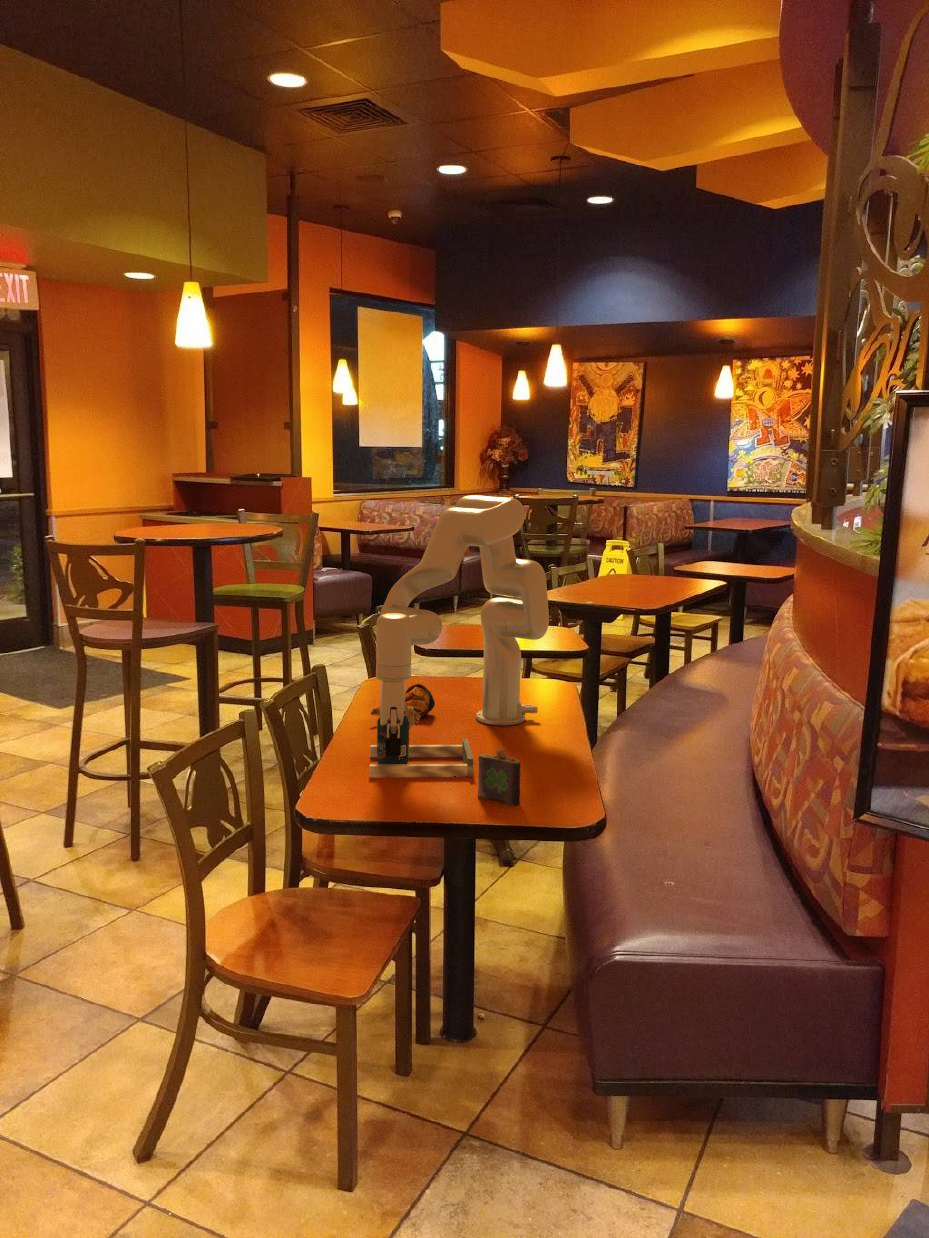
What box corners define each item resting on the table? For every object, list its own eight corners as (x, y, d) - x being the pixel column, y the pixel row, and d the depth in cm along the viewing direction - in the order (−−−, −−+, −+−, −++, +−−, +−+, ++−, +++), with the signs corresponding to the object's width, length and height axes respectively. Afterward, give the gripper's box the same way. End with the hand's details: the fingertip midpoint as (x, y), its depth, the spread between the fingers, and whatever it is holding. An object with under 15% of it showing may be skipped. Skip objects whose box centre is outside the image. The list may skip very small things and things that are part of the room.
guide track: (467, 755, 222) (467, 738, 221) (472, 776, 208) (473, 758, 207) (370, 755, 220) (370, 738, 219) (369, 777, 206) (369, 759, 205)
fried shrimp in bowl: (448, 699, 252) (405, 689, 238) (427, 734, 254) (383, 727, 240) (426, 679, 257) (383, 669, 243) (405, 714, 259) (361, 706, 245)
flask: (475, 798, 196) (476, 746, 194) (482, 793, 198) (484, 743, 196) (516, 807, 191) (518, 755, 189) (522, 803, 194) (524, 751, 192)
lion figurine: (422, 743, 230) (423, 707, 228) (403, 747, 227) (403, 710, 225) (391, 728, 242) (391, 692, 240) (372, 731, 239) (372, 695, 237)
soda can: (370, 765, 214) (371, 712, 212) (396, 759, 218) (396, 707, 216) (389, 773, 209) (389, 719, 206) (414, 767, 213) (415, 714, 211)
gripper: (376, 661, 218) (376, 737, 221) (375, 680, 201) (375, 762, 204) (410, 661, 218) (409, 737, 222) (412, 680, 201) (411, 762, 205)
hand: (392, 748), depth 213 cm, fingers open, 7 cm apart
